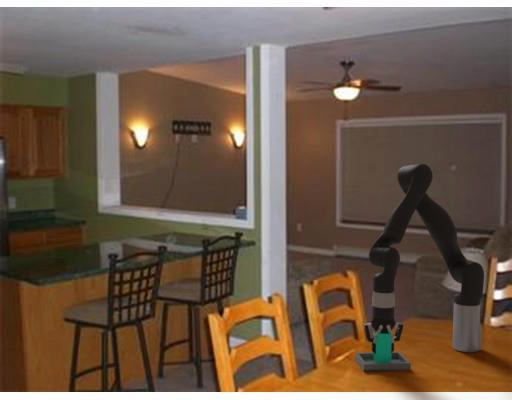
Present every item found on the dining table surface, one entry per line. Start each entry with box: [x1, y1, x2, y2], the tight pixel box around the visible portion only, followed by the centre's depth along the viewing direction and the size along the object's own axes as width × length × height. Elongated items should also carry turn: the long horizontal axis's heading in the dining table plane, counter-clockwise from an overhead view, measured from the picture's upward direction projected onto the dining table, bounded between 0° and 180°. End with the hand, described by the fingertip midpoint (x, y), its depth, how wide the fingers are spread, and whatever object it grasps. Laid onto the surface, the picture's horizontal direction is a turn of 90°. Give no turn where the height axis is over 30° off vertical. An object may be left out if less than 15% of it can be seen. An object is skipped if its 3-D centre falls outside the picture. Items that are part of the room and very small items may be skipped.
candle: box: [373, 330, 392, 363], centre depth 214 cm, size 6×6×12 cm
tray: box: [354, 351, 412, 373], centre depth 215 cm, size 16×12×2 cm
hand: (382, 352), depth 214 cm, fingers closed on candle, 4 cm apart
